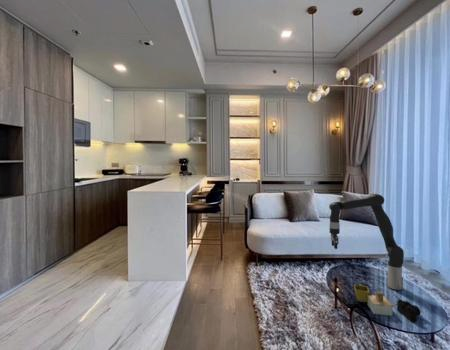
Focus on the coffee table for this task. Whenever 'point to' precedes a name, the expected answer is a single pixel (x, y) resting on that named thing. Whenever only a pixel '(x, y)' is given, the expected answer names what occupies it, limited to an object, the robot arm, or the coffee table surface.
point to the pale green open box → (380, 309)
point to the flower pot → (361, 293)
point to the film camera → (408, 310)
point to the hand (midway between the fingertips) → (334, 247)
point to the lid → (379, 299)
